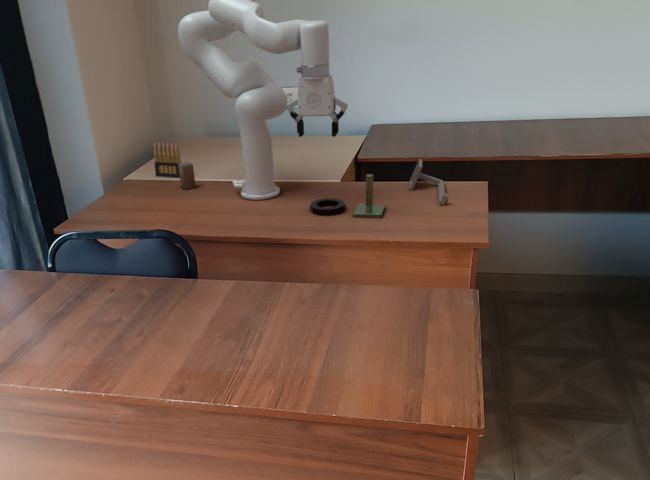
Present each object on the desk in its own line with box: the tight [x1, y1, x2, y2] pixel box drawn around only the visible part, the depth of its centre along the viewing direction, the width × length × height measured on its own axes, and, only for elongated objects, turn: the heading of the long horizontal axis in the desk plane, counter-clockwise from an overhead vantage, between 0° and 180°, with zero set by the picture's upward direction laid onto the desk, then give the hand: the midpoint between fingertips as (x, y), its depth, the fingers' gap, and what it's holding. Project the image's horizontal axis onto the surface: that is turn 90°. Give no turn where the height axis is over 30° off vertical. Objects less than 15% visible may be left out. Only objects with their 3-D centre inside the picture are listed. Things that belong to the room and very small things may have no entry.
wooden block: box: [178, 161, 196, 190], centre depth 224 cm, size 4×4×8 cm
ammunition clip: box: [153, 141, 183, 179], centre depth 236 cm, size 11×2×12 cm, turn 66°
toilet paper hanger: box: [409, 158, 449, 206], centre depth 203 cm, size 23×9×8 cm, turn 168°
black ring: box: [309, 197, 346, 216], centre depth 197 cm, size 10×10×2 cm
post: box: [352, 173, 386, 219], centre depth 190 cm, size 8×8×11 cm
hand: (317, 135), depth 190 cm, fingers open, 9 cm apart
